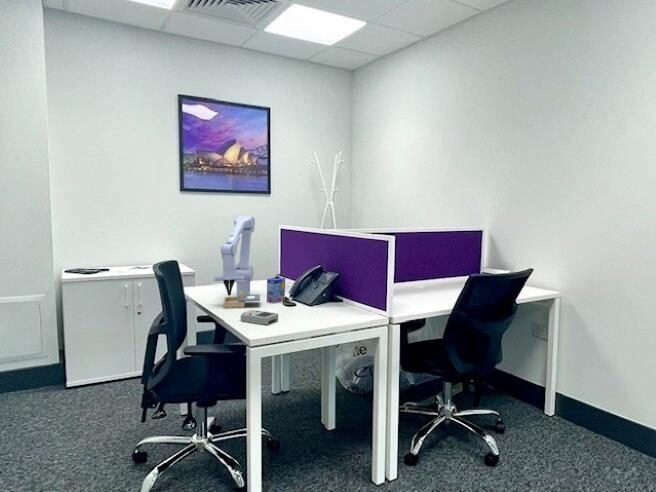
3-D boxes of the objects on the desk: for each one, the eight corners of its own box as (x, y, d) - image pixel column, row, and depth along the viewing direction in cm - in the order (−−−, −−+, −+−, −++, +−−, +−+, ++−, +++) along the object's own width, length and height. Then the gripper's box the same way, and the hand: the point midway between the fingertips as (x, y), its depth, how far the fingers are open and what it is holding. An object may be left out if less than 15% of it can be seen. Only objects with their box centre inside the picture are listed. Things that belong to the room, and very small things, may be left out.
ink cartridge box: (275, 303, 226) (275, 275, 225) (266, 302, 229) (266, 274, 228) (285, 300, 235) (285, 272, 234) (277, 298, 238) (277, 272, 236)
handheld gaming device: (251, 317, 200) (251, 309, 200) (278, 321, 194) (278, 312, 193) (238, 322, 193) (238, 313, 192) (266, 326, 186) (266, 317, 185)
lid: (239, 296, 228) (239, 289, 228) (259, 295, 230) (259, 289, 229) (238, 301, 216) (238, 294, 215) (260, 300, 217) (260, 294, 217)
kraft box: (225, 302, 227) (224, 297, 226) (244, 302, 228) (244, 296, 228) (223, 308, 215) (223, 302, 215) (244, 307, 217) (244, 301, 216)
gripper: (213, 269, 214) (213, 297, 216) (243, 268, 217) (244, 296, 218) (214, 267, 221) (214, 294, 223) (244, 266, 224) (244, 293, 225)
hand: (229, 295), depth 221 cm, fingers closed
